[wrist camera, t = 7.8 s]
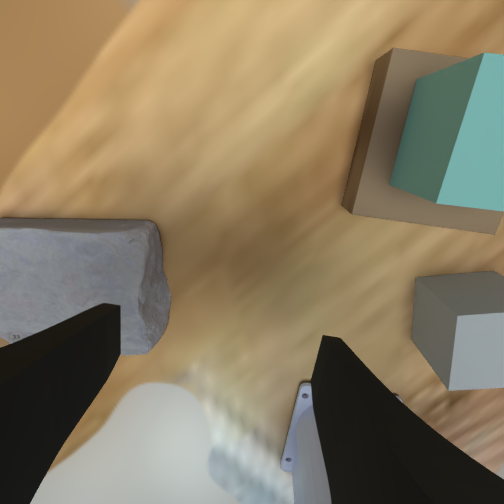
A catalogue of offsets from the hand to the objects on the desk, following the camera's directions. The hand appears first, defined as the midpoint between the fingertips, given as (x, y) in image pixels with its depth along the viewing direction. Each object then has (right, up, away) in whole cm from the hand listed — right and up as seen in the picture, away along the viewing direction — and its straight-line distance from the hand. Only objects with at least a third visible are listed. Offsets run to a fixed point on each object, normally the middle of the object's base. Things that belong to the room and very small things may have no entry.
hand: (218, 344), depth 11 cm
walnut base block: (+11, +10, +8) cm, 17 cm away
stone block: (-10, +1, +12) cm, 16 cm away
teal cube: (+11, +9, +5) cm, 15 cm away
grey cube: (+15, -1, +11) cm, 18 cm away
